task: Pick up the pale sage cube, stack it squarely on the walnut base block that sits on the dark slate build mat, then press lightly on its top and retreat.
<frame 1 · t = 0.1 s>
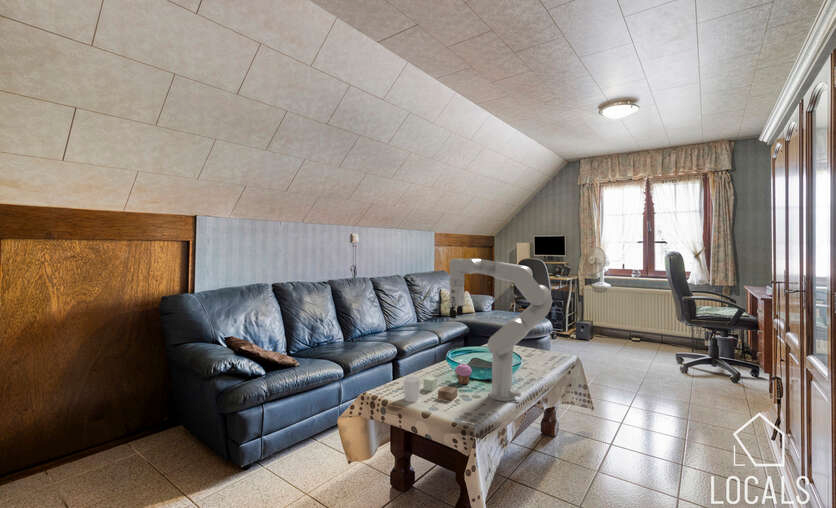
hand: (456, 316, 200), 37 cm above the table, tool pointing down, fingers open, 9 cm apart
white cup: (411, 400, 183), on the table
sage cube: (430, 390, 197), on the table
build mat: (447, 398, 186), on the table
walnut base block: (447, 397, 186), resting on build mat
cupcake: (463, 383, 208), on the table
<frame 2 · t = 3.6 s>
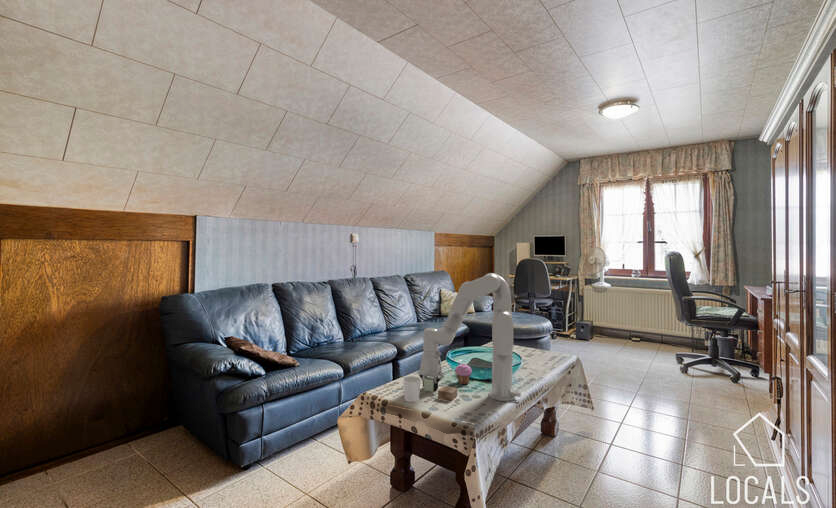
hand: (430, 389, 197), 1 cm above the table, tool pointing down, fingers closed on sage cube, 5 cm apart
sage cube: (430, 390, 197), on the table, touching gripper
everything else where it was.
when the fingers open (6 cm above the table, at t = 8.4 s): sage cube drops 1 cm, resting on walnut base block.
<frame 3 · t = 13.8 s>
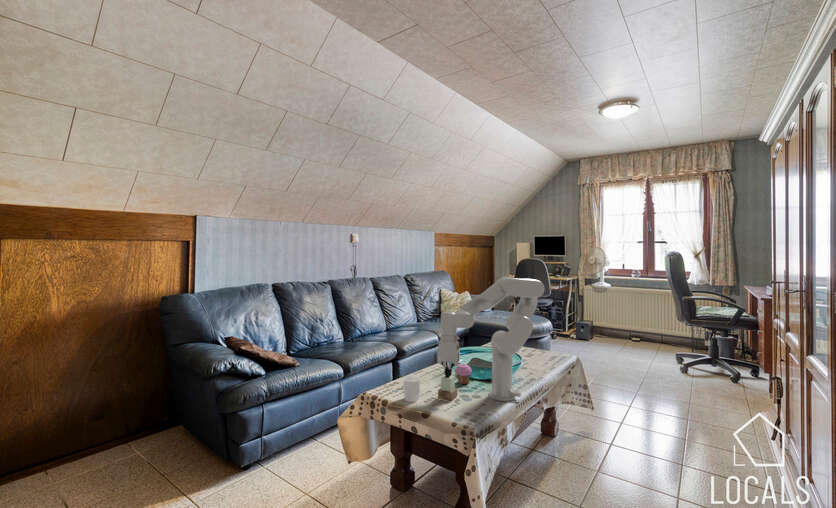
hand: (447, 376, 186), 11 cm above the table, tool pointing down, fingers closed
sage cube: (447, 389, 186), point 4 cm above the table, touching gripper, walnut base block
walnut base block: (447, 397, 186), resting on build mat, touching sage cube
everything else where it was.
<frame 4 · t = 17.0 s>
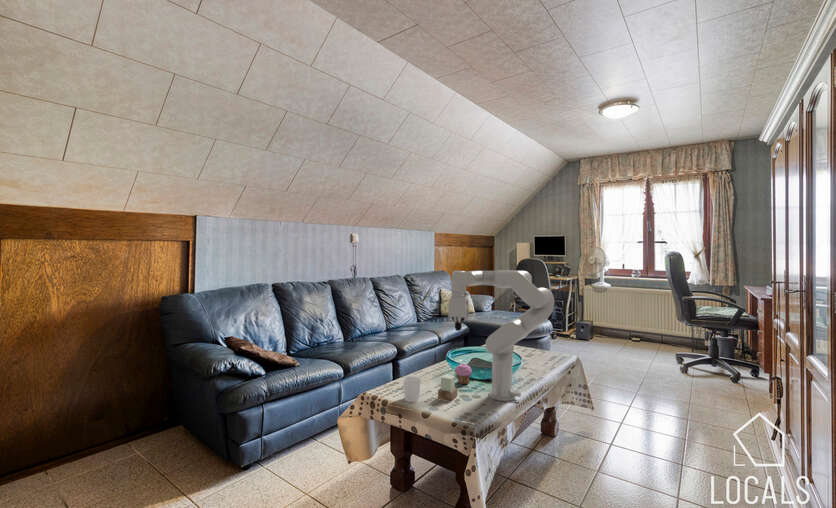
hand: (458, 330, 202), 29 cm above the table, tool pointing down, fingers closed
sage cube: (447, 389, 186), point 4 cm above the table, touching walnut base block
everything else where it was.
at the end: sage cube 0.0 cm off-centre on the walnut base block, point 4.0 cm above the walnut base block's base; sage cube tilted 0°; walnut base block moved 0.0 cm from its start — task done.
